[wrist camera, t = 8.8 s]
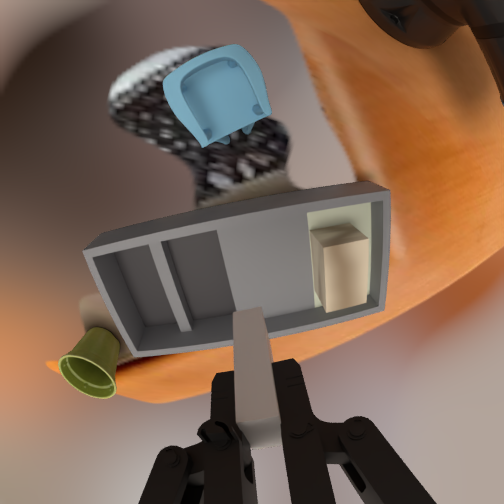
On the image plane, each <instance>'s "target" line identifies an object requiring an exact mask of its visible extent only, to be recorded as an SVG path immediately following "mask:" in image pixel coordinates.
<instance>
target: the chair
mask: <svg viewBox="0 0 504 504" xmlns="http://www.w3.org/2000/svg"><path fill="white" fill-rule="evenodd" d="M163 89H164V93H165V96H166V99H167V101H168V103H169V105H170V107H171V109H172V110H173V112H174V114H175V115H176V116H177V118H178V119H179V120H180V121H181V122H182V123H183V124H184V126H185V127H186V128H187V129H188V130H189V131H190V132H191V133H192V134H193V135H194V136H195V138H196V139H197V140H198V141H199V143H200V144H201V146H202V148H203V147H205V146H207V145H209V144H211V143H212V142H214V141H217V142H221V143H224V144H226V145H227V144H229V143H230V138H229V136H228V134H230V133H232V132H234V131H236V130H238V129H240V128H242V131H243V133H245V134H249V133H250V132H251V129H252V127H253V125H254V123H255V121H258V120H260V119H262V118H264V117H266V116H269V115H271V114H272V110H271V107H270V104H269V100H268V96H267V91H266V86H265V82H264V78H263V75H262V72H261V70H260V68H259V66H258V64H257V63H256V62H255V60H254V58H253V57H252V56H251V55H250V54H249V53H248V51H246V50H245V49H244V48H243V47H242V46H240V45H238V44H232V45H227V46H223V47H220V48H217V49H214V50H211V51H208V52H206V53H204V54H201V55H199V56H197V57H195V58H193V59H191V60H190V61H188V62H186V63H185V64H183V65H181V66H180V67H178V68H177V69H176V70H174V71H173V72H171V73H170V74H169V75H168V76H167V77H166V78H165V79H164V81H163Z"/></svg>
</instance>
